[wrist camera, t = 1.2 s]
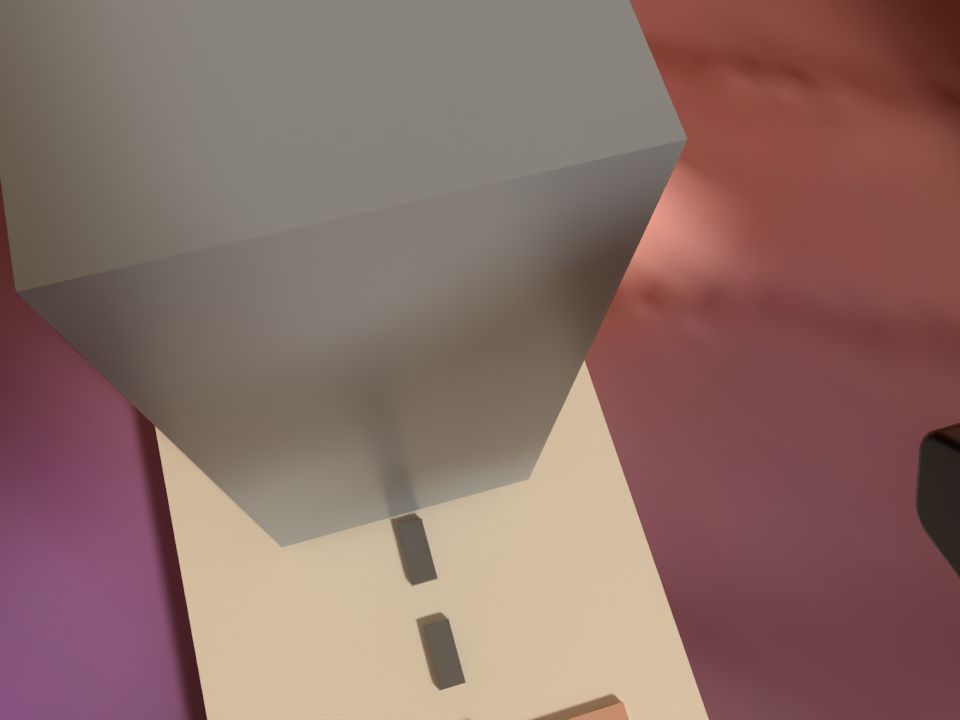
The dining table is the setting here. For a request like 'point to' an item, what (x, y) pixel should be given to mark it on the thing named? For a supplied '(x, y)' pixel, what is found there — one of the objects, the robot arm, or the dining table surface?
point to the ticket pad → (440, 601)
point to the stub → (332, 227)
